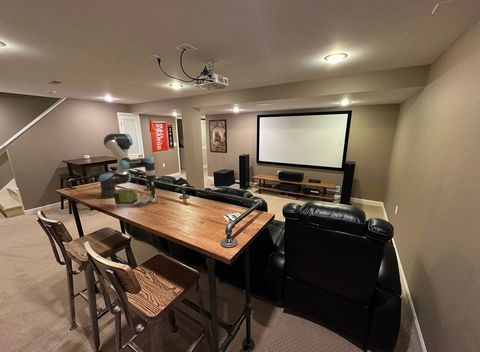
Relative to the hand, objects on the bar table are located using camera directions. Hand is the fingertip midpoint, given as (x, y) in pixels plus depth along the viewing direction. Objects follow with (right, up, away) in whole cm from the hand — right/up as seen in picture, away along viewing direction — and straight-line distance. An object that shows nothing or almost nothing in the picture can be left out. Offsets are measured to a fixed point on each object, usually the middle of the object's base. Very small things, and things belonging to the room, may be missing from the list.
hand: (153, 200), depth 171 cm
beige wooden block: (0, -2, 0) cm, 2 cm away
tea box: (-22, -5, -1) cm, 23 cm away
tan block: (-6, -3, -4) cm, 8 cm away
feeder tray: (-5, -2, +9) cm, 10 cm away
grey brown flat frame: (-3, -4, -1) cm, 5 cm away
